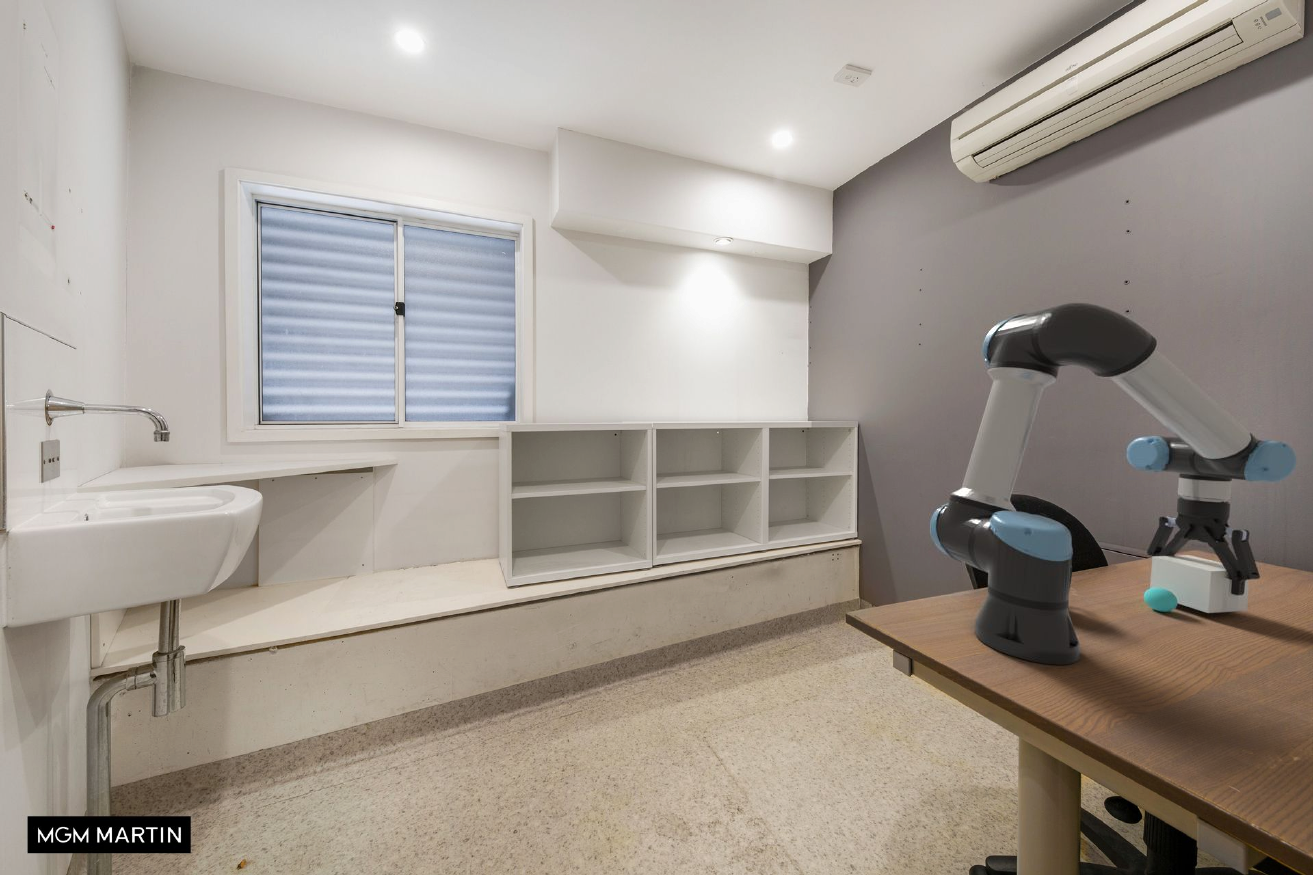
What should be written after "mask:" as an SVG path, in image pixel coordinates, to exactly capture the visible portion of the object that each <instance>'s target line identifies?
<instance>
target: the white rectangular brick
mask: <svg viewBox="0 0 1313 875" xmlns="http://www.w3.org/2000/svg"><path fill="white" fill-rule="evenodd" d="M1150 571H1151V572H1150V582H1149V583H1150V584H1149V585H1150V586H1149V589H1150V588H1155V587H1158V588H1164V589H1167V590H1169V591H1170V592H1172V593H1173V594H1174V595H1175V596H1176V598H1177V601H1178V604H1177V605H1182V606H1185V607H1189V608H1191V609H1194V610H1197V611H1201V612H1203V613H1207V614H1210V613H1211V614H1215V613H1227V612H1228V613H1229V612H1243V611H1248V604H1249V603H1248V600H1249V591H1250V590H1249V587H1250V580H1246V581H1245V588H1244V589H1245V590H1244V594H1243V595H1239V597H1238V609H1233V610H1226V609H1223V594H1224V581H1225V578H1228V577H1230V576H1229V574H1228V572H1227V571H1226V569H1225V568H1224V566H1223V564H1222V563H1221V561H1220V562H1219V561H1215V560H1210V559H1208V558H1203V557H1198V556H1194V555H1190V554H1187V555H1185V554H1184V555H1183V554H1182V555H1180V554H1179V555H1174V556H1154V557H1153V556H1152V557H1151V570H1150Z"/></svg>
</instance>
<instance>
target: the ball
mask: <svg viewBox="0 0 1313 875" xmlns="http://www.w3.org/2000/svg"><path fill="white" fill-rule="evenodd" d="M1143 600H1144V602H1145V603H1146V604H1147V606H1148V607H1149V608H1151V609H1153V610H1155V611H1158V612H1163V613H1167V612H1172V611H1173V610H1175V609H1176V608H1177V606H1178V605H1179V604H1178V601H1177V598H1176V596H1175V595H1174V594H1173V593H1172V592H1170V591H1169V590H1167V589H1164V588H1158V587H1155V588H1150V587H1149V589H1146V591H1145V592H1144V595H1143Z"/></svg>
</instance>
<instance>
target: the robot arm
mask: <svg viewBox="0 0 1313 875" xmlns="http://www.w3.org/2000/svg"><path fill="white" fill-rule="evenodd" d="M1158 346H1159V343H1158V340H1157V339H1156V338H1155V337H1154V336H1153V335H1152V334H1151V333H1150V332H1148V330H1146V329H1145V328H1143V327H1142V326H1141V325H1140V324H1138V323H1137V322H1135V321H1134V320H1132V319H1131V318H1129V317H1127V316H1124V315H1123V314H1121V313H1119V312H1117V311H1115V310H1112V309H1110V308H1107V307H1103V306H1100V305H1097V304H1091V303H1089V302H1088V303H1085V302H1070V303H1064V304H1060V305H1056V306H1054V307H1049V308H1045V309H1041V310H1038V311H1034V312H1030V313H1022V314H1021V313H1020V314H1016V315H1013V316H1012V317H1010V318H1007V319H1004V320H1002V321H1001V322H999V323H997V324H995V325H994V326H993V327H992V328H991V329H990V330H989V331H988V333H987V335H986V336H985V338H984V341H983V344H982V357H984V358H985V359H984V362H985V364H986V365H987V366H988V369H987V374H988V375H989V377H990V378H991V380H992V381H993V382H992V385H991V388H990V392H989V396H988V398H987V402H986V404H985V405H986V406H985V409H984V412H983V416H982V419H981V422H980V426H979V428H978V429H979V430H978V432H977V435H976V439H975V441H974V442H975V443H974V446H973V449H972V452H971V455H970V459H969V462H968V465H967V469H966V472H965V476H964V479H963V482H962V485H961V487H960V489H958V490H955V491H952V492H951V494H950V497H949V500H948V503H945V504H943V505H941V506H940V507H939V508H937V509H936V510H935V511H934V512H933V514H932V516H931V519H930V522H929V533H930V536H931V539H932V542H934V544H935V546H936V548H937V549H938V550H940V552H942V553H943V554H945V555H947V556H949V557H950V558H952V559H953V560H955V561H957V562H961V563H964V564H966V565H969V566H971V567H973V568H976V569H977V570H980V571H983V572H985V573H988V575H987V576H988V577H987V593H986V597H985V600H984V601H983V603H982V605H981V608H980V609H979V612H978V614H977V615H976V618H975V621H974V635H975V637H976V638H977V639H978V640H980V642H982V643H983V644H985V645H987V646H988V647H991V648H992V649H994V650H996V651H999V652H1001V653H1003V654H1007V655H1009V656H1012V657H1014V658H1018V659H1022V660H1025V661H1030V662H1035V663H1040V664H1048V665H1061V666H1062V665H1071V664H1074V663H1077V662H1078V661H1079V660H1080V652H1081V651H1080V648H1081V647H1080V642H1079V639H1078V637H1077V633H1076V630H1075V628H1074V625H1073V622H1072V619H1071V616H1070V613H1069V602H1070V590H1071V584H1070V577H1071V566H1072V564H1073V563H1072V562H1073V555H1074V552H1073V551H1074V549H1073V547H1072V546H1073V544H1072V534H1071V531H1070V530H1069V529H1068V528H1067V526H1065V525H1064V524H1062V523H1061V522H1059V521H1056V520H1054V519H1053V518H1049V517H1046V516H1042V515H1040V514H1031V513H1028V512H1024V511H1017V509H1016V508H1015V507H1014V505H1013V504H1012V502H1011V497H1012V494H1013V490H1014V486H1015V484H1016V481H1017V477H1018V473H1019V470H1020V467H1021V464H1022V462H1023V458H1024V454H1025V451H1026V448H1027V445H1028V441H1029V438H1030V434H1031V431H1032V429H1033V428H1032V427H1033V426H1034V425H1033V424H1034V421H1035V417H1036V416H1037V415H1036V414H1037V411H1038V408H1039V405H1040V401H1041V398H1042V394H1043V392H1044V389H1045V388H1046V387H1047V388H1048V387H1049V386H1050V385H1052V384H1055V383H1056V380H1057V378H1058V375H1059V374H1058V373H1059V371H1060V367H1066V366H1077V367H1082V368H1086V369H1088V370H1089V371H1091V373H1093V374H1094V375H1095V376H1096V377H1099V378H1102V379H1110V380H1112V382H1114V383H1115V384H1116V385H1117V386H1118V387H1119V388H1121V389H1122V391H1124V392H1125V393H1126V394H1127V395H1128V396H1129V397H1131V398H1132V399H1133V400H1135V402H1137V403H1138V404H1139V405H1140V406H1142V407H1143V408H1144V409H1145V410H1147V411H1148V413H1149V414H1150V415H1152V416H1153V417H1154V418H1156V420H1158V421H1159V422H1160V423H1161V424H1162V425H1164V427H1166V429H1168V430H1170V431H1171V433H1173V434H1174V435H1175V436H1158V435H1157V436H1156V435H1151V436H1142V437H1138V438H1135V439H1134V440H1133V441H1131V442H1130V443H1129V444H1128V446H1127V449H1126V460H1127V461H1128V462H1129V464H1130V466H1132V467H1133V468H1135V469H1137V470H1139V471H1143V472H1151V473H1159V472H1160V473H1161V472H1163V473H1164V472H1165V473H1173V474H1179V476H1178V484H1177V485H1178V488H1177V494H1178V495H1179V496H1180V497H1179V498H1177V501H1176V512H1177V516H1176V517H1173V516H1160V517H1158V528H1157V529H1156V531H1155V533H1154V536H1153V538H1152V540H1151V542H1150V545H1149V547H1148V549H1147V550H1146V554H1147V555H1148V556H1152V557H1154V556H1176V554H1178V552H1180V550H1181V549H1182V548H1183V547H1184V546H1185V545H1186V544H1187V543H1188V542H1189V541H1199V542H1201V543H1205V544H1206V543H1207V544H1208V547H1210V548H1212V550H1213V552H1214V553H1215V555H1216V556H1217V558H1218V560H1219V561H1220V563H1222V564H1223V566H1224V568H1225V569H1226V571H1227V572H1228V574H1229V576H1230V577H1228V578H1225V581H1224V594H1223V609H1226V610H1233V609H1238V597H1239V595H1243V594H1244V590H1245V589H1244V588H1245V581H1246V580H1249V581H1250V580H1259V579H1260V578H1261V575H1260V573H1259V569H1258V567H1257V563H1256V560H1255V557H1254V554H1253V551H1252V548H1251V545H1250V542H1249V541H1250V540H1249V539H1250V531H1249V530H1248V529H1238V528H1232V527H1230V525H1229V523H1228V521H1229V519H1230V513H1231V503H1229V501H1227V500H1230V499H1231V495H1232V484H1233V481H1232V480H1241V481H1246V482H1250V483H1251V482H1265V483H1266V482H1267V483H1278V482H1280V481H1284V480H1286V479H1287V478H1289V477H1290V476H1291V474H1292V472H1293V471H1295V470H1296V469H1295V468H1296V466H1297V454H1296V451H1295V450H1294V449H1293V447H1292V446H1291V445H1289V444H1288V443H1284V442H1282V441H1275V440H1271V439H1264V440H1261V439H1258V438H1257V437H1256V436H1255V435H1253V434H1252V433H1251V432H1250V431H1249V430H1248V429H1247V428H1245V427H1244V426H1243V425H1242V424H1241V423H1240V422H1239V421H1237V420H1236V418H1235V417H1233V416H1232V415H1231V414H1230V413H1229V412H1228V411H1226V410H1225V409H1224V408H1223V407H1222V406H1221V405H1219V404H1218V402H1216V401H1215V400H1214V399H1213V398H1212V397H1210V396H1209V395H1208V394H1207V393H1206V392H1205V391H1204V390H1203V389H1201V387H1199V386H1198V385H1197V384H1196V383H1195V382H1194V381H1192V380H1191V378H1189V377H1188V376H1187V375H1186V374H1185V373H1184V372H1182V371H1181V370H1180V369H1179V367H1177V366H1176V365H1175V364H1174V363H1172V362H1171V361H1170V360H1169V359H1168V358H1167V357H1166V356H1165V355H1163V354H1162V353H1161V352H1160V351H1158V350H1157V349H1158ZM1176 526H1177V527H1178V529H1179V530H1178V531H1177V532H1176V533H1175V534H1174V536H1173V538H1172V539H1171V540H1170V541H1168V540H1169V539H1170V537H1171V534H1172V533H1173V530H1174V528H1175V527H1176ZM1226 535H1228V538H1229V539H1230V540H1231V545H1232V548H1233V552H1234V553H1233V552H1232V550H1231V549H1230V547H1229V545H1230V544H1229V542H1228V541H1227V539H1226V538H1225V536H1226ZM1071 578H1072V577H1071Z"/></svg>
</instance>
